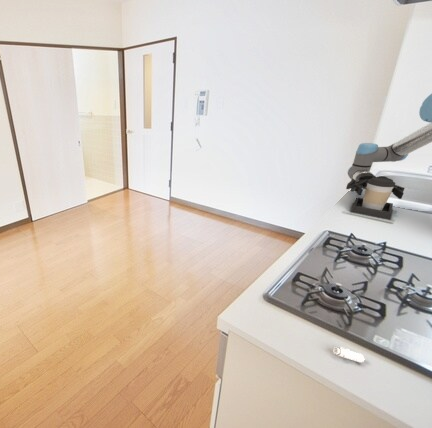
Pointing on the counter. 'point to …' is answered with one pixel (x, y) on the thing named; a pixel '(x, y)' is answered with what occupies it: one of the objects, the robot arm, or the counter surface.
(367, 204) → the coffee cup
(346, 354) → the small white plastic part
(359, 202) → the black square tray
